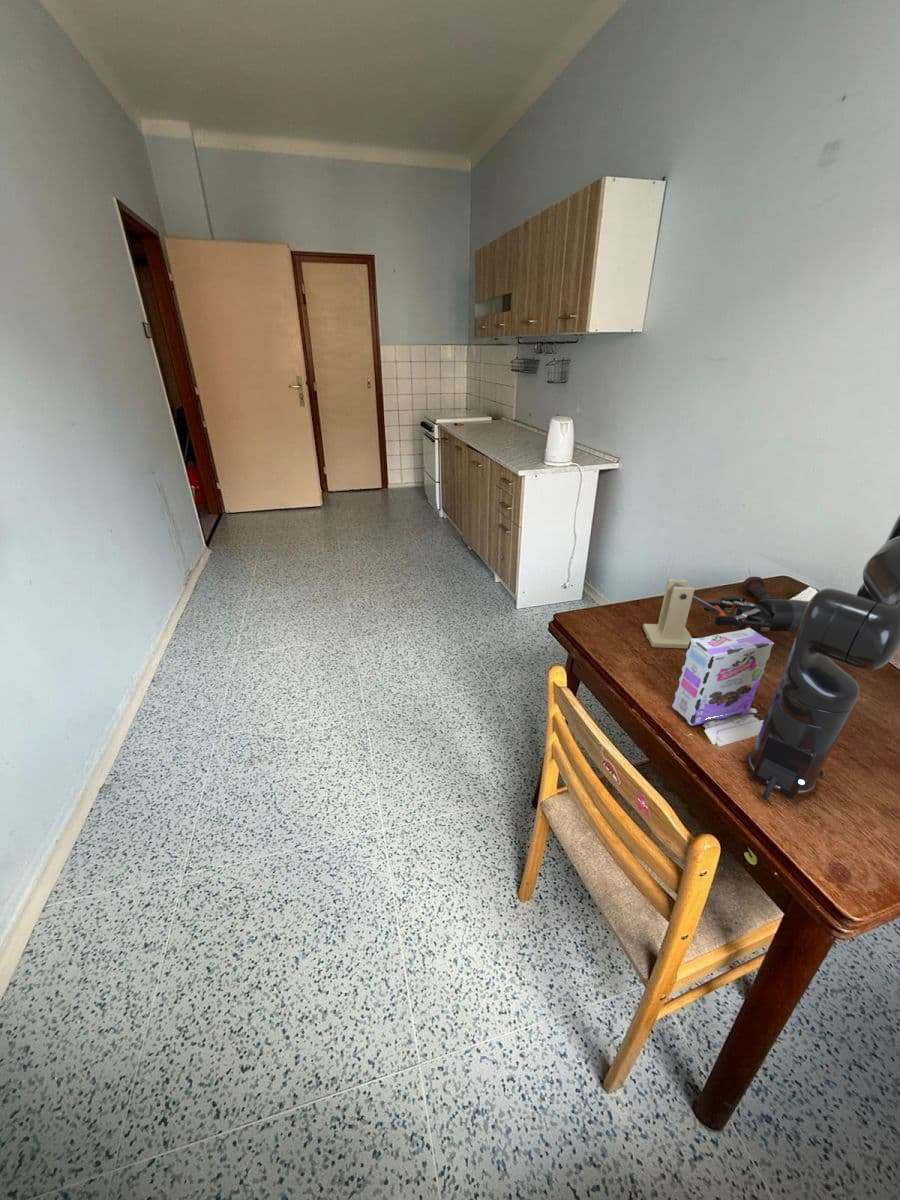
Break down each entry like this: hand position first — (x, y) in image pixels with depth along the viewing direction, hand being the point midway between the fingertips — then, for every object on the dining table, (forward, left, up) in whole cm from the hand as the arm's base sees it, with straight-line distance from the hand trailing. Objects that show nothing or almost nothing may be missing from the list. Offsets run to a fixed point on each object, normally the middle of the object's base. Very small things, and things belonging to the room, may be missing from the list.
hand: (710, 613), depth 111 cm
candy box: (-25, -11, -7) cm, 28 cm away
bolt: (+29, -5, -8) cm, 30 cm away
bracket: (-5, +6, -7) cm, 11 cm away
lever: (-2, +3, +2) cm, 4 cm away
